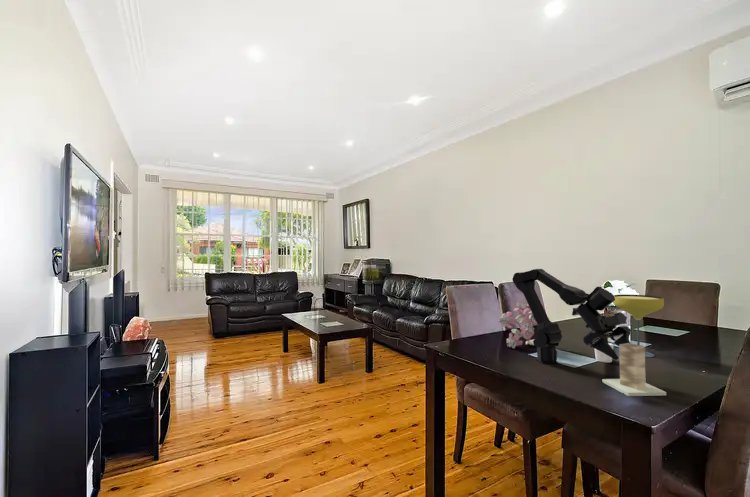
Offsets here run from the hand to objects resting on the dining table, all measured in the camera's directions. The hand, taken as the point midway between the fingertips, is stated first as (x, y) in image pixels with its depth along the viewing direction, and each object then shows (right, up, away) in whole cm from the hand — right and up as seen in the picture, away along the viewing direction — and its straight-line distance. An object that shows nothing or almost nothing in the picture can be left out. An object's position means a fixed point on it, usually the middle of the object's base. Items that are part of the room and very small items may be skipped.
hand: (625, 357), depth 117 cm
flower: (-14, -11, +51) cm, 54 cm away
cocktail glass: (+32, -10, +37) cm, 50 cm away
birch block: (+1, -9, -2) cm, 9 cm away
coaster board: (+1, -10, -2) cm, 10 cm away
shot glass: (+11, -10, +28) cm, 32 cm away
